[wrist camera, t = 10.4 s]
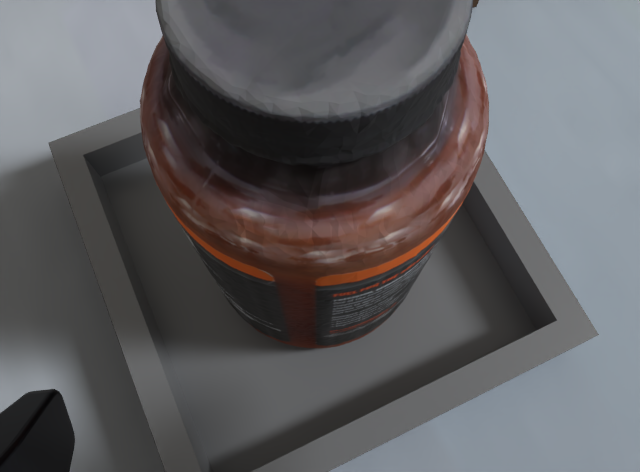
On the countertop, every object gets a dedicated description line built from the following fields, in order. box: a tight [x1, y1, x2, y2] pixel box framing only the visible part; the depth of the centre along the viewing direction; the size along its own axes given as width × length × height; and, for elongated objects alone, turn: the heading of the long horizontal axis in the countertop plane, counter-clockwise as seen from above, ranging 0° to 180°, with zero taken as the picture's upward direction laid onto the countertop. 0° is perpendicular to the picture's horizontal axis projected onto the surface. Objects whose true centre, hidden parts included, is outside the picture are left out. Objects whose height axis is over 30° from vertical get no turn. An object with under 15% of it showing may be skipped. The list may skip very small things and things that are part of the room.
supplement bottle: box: [140, 0, 489, 349], centre depth 12 cm, size 6×6×11 cm
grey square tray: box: [49, 108, 599, 472], centre depth 17 cm, size 12×12×2 cm
